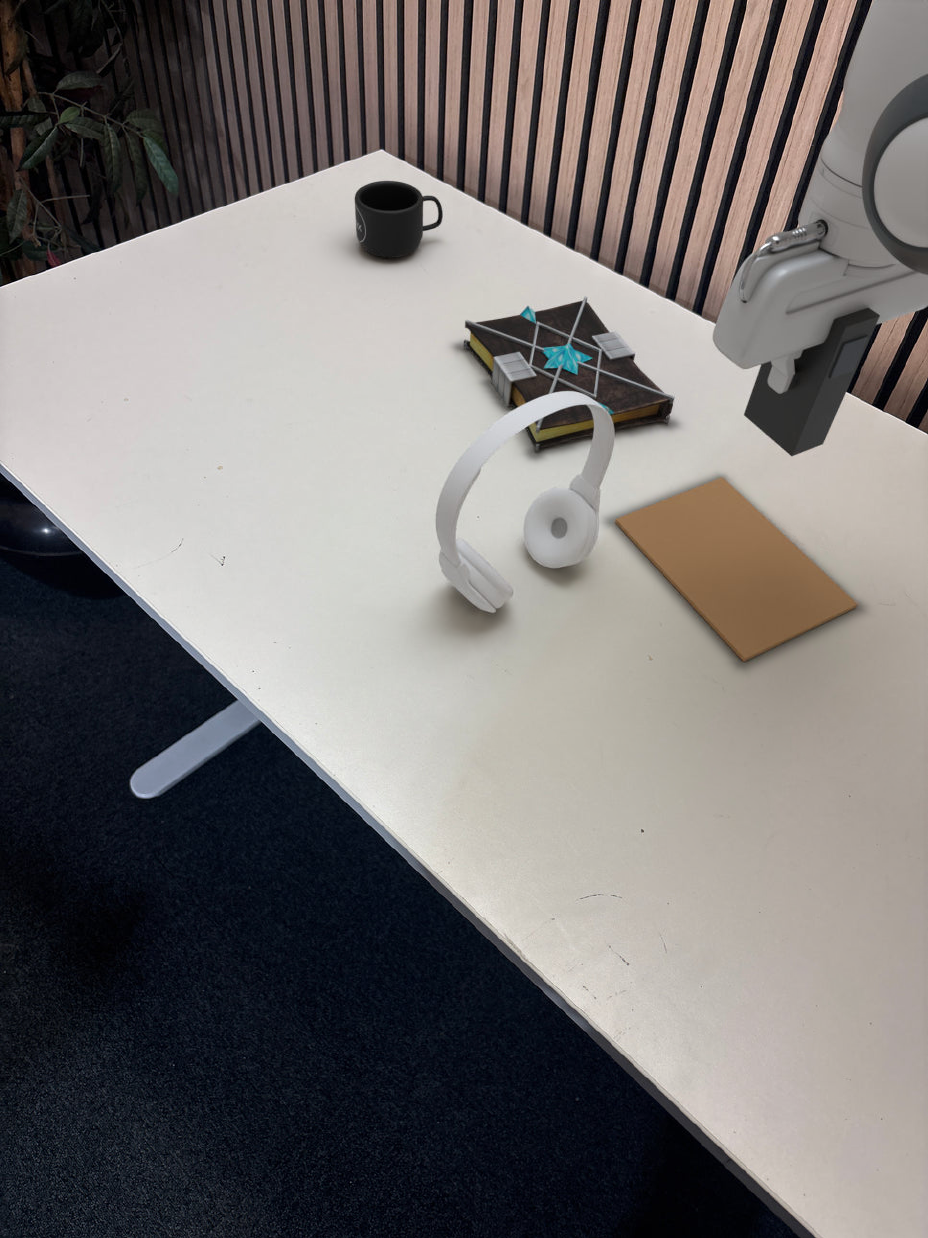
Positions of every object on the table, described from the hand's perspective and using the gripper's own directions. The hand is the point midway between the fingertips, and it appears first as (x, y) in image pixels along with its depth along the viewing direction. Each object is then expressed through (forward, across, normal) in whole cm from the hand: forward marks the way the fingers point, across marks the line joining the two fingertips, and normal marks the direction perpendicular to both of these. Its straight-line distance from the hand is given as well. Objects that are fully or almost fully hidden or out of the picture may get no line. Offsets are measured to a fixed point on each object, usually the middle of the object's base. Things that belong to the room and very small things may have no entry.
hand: (803, 378), depth 73 cm
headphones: (+22, -20, +8) cm, 31 cm away
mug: (+22, -2, +68) cm, 72 cm away
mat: (+22, 0, 0) cm, 22 cm away
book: (+22, +1, +32) cm, 39 cm away
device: (+5, 0, 0) cm, 5 cm away
